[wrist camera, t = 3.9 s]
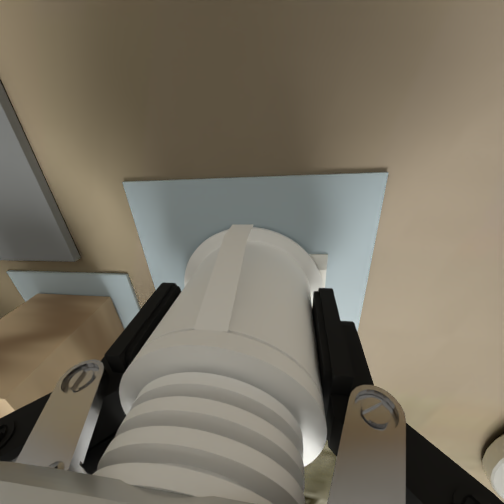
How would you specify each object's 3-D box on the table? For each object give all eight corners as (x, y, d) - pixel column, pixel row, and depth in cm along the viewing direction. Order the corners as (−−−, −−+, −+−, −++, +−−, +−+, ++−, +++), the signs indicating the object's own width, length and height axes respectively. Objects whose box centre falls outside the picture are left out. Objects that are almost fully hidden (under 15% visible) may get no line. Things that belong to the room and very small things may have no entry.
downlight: (317, 349, 14) (364, 745, 5) (199, 341, 15) (61, 650, 6) (328, 213, 10) (557, 703, 1) (174, 215, 11) (-242, 499, 3)
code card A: (381, 169, 10) (389, 172, 9) (348, 355, 15) (350, 367, 14) (132, 178, 11) (121, 182, 11) (179, 342, 17) (174, 353, 16)
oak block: (110, 296, 14) (4, 399, 9) (134, 354, 17) (62, 462, 11) (37, 293, 15) (-98, 385, 10) (71, 349, 17) (-24, 447, 12)
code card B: (134, 267, 14) (125, 276, 13) (166, 360, 18) (160, 370, 17) (19, 264, 15) (4, 272, 15) (71, 351, 19) (62, 361, 18)
